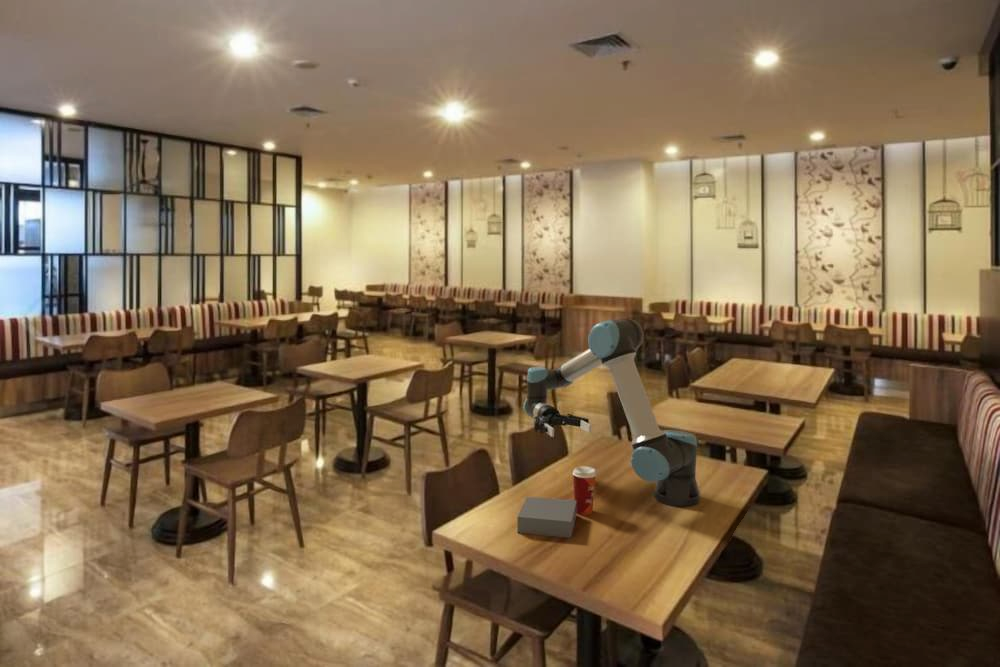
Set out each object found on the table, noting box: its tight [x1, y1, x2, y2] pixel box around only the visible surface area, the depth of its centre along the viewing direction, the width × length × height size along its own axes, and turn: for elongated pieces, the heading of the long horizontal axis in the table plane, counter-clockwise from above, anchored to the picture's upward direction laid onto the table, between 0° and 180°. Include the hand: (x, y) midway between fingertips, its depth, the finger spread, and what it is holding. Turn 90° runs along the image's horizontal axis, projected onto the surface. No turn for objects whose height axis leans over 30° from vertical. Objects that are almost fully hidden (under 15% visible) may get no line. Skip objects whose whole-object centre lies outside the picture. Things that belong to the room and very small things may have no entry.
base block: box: [517, 496, 577, 539], centre depth 194 cm, size 16×16×5 cm
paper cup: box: [572, 465, 597, 516], centre depth 203 cm, size 8×8×14 cm
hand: (571, 431), depth 210 cm, fingers open, 13 cm apart
